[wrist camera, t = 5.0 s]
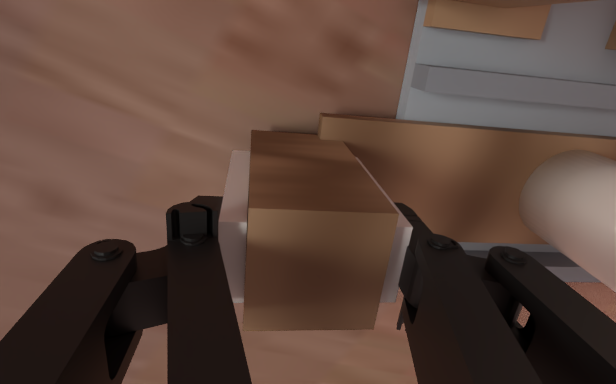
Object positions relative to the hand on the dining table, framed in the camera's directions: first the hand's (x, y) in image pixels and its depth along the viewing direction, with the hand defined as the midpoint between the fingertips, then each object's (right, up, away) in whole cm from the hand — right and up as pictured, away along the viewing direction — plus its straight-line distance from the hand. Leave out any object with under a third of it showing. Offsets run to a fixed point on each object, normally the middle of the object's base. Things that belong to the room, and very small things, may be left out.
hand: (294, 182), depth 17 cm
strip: (+7, 0, +2) cm, 8 cm away
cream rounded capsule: (+14, -1, +3) cm, 14 cm away
